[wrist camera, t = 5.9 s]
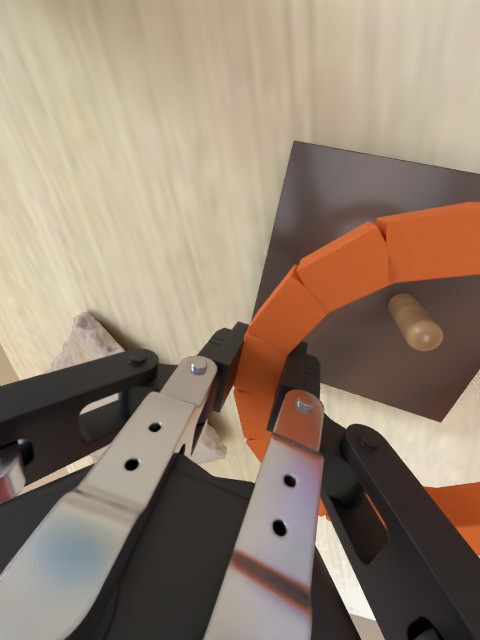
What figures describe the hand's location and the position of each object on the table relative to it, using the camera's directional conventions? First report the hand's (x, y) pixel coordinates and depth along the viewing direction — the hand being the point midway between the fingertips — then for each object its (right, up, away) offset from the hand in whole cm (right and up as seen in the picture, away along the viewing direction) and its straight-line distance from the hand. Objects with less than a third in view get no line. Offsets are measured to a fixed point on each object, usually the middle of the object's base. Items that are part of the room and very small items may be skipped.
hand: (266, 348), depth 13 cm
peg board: (+10, +4, +10) cm, 15 cm away
